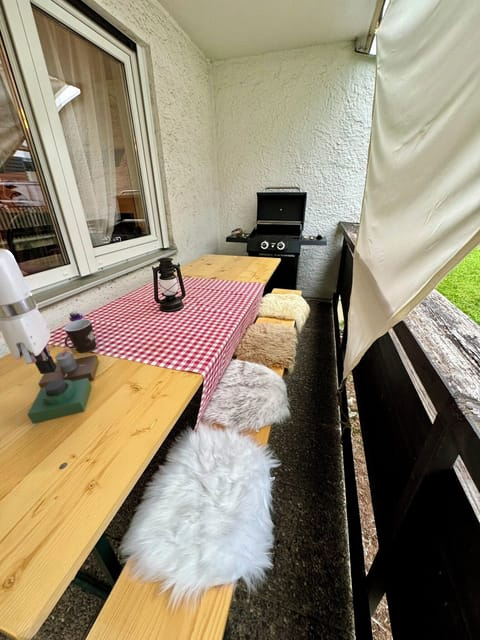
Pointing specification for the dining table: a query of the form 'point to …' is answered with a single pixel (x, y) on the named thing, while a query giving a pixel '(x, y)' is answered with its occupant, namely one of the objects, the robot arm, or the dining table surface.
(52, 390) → the dark grey short cylinder
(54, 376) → the dial panel
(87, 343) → the coffee mug
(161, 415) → the dining table surface
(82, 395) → the green flat block
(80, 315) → the potion bottle
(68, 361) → the dial
